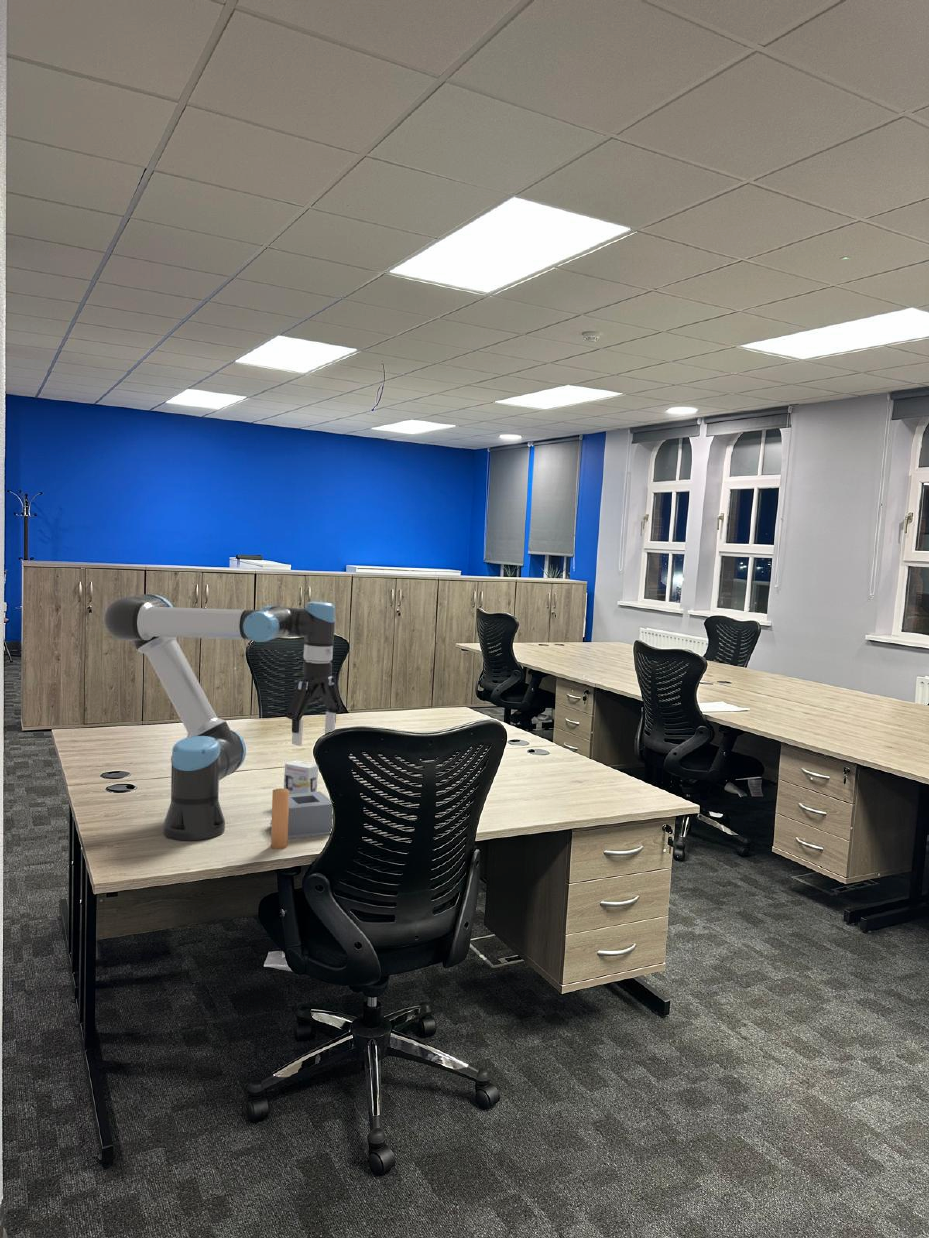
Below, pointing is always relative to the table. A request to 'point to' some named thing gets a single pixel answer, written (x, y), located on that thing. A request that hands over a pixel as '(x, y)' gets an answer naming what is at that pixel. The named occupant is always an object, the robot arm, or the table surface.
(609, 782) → the table surface
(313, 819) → the socket block
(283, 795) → the dowel
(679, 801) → the table surface
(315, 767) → the ink box
